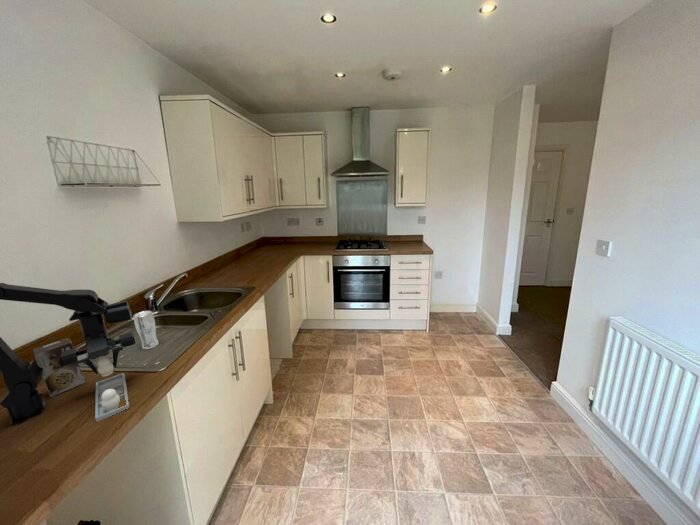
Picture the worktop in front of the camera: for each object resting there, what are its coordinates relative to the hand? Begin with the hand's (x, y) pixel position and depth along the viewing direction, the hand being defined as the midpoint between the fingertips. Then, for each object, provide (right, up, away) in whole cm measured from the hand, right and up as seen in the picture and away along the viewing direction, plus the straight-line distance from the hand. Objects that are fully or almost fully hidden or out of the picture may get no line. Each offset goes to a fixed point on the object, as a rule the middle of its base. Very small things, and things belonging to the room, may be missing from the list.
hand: (106, 370), depth 98 cm
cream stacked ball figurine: (0, -1, 0) cm, 1 cm away
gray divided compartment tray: (+5, -7, -4) cm, 10 cm away
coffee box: (-16, -7, +3) cm, 18 cm away
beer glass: (-4, 0, +28) cm, 28 cm away
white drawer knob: (+10, -8, -9) cm, 16 cm away
